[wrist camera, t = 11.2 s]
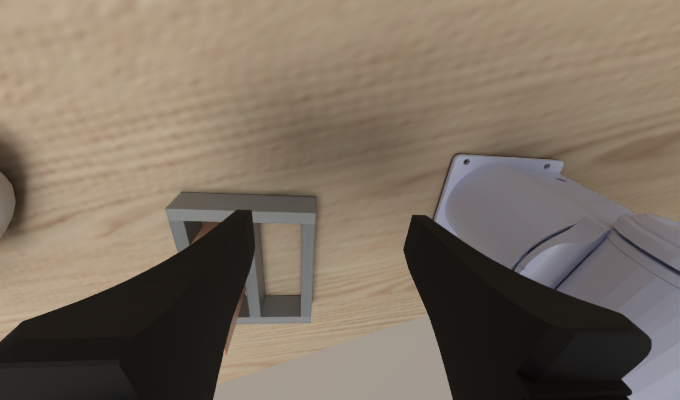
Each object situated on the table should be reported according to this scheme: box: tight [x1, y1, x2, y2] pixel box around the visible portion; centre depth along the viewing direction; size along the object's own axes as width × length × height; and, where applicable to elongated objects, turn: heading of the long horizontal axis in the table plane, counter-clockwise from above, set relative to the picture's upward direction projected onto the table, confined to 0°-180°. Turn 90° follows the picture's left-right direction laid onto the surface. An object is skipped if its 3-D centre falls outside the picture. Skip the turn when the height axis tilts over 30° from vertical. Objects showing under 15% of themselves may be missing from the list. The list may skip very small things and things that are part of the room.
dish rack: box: [165, 192, 316, 324], centre depth 23 cm, size 11×13×2 cm
